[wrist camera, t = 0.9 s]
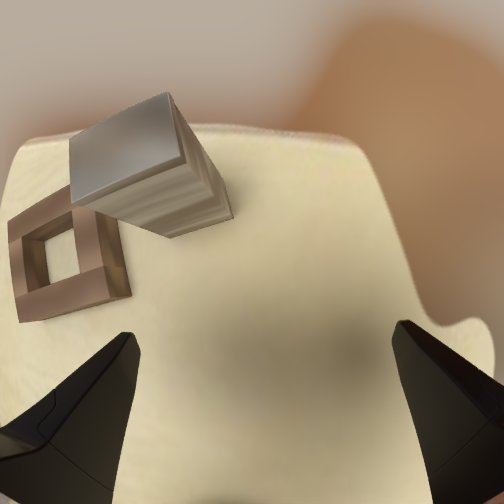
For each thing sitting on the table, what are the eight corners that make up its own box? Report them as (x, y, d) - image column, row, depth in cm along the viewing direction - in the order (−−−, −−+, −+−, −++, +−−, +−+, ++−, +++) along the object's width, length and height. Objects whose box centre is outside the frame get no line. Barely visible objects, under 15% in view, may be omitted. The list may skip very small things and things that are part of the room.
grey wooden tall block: (234, 218, 23) (180, 156, 11) (169, 239, 24) (71, 203, 11) (223, 178, 24) (167, 90, 11) (161, 199, 24) (69, 138, 12)
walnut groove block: (131, 295, 24) (110, 297, 20) (41, 320, 25) (19, 323, 21) (112, 184, 25) (91, 173, 22) (28, 226, 26) (7, 221, 23)
